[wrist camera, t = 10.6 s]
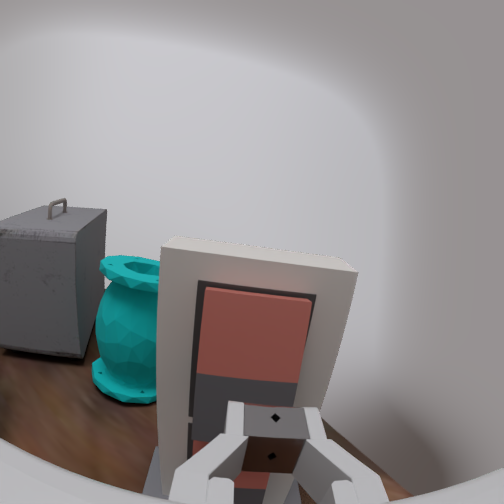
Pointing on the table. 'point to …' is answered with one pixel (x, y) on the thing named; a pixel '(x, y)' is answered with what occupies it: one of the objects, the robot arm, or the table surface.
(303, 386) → the tower
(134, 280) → the valve
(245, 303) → the upper rocker
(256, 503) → the lower rocker
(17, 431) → the table surface
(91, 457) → the table surface
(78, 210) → the vintage electronic device
